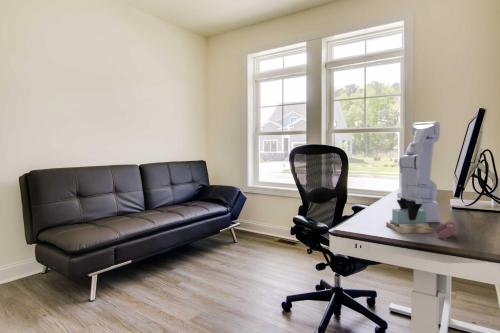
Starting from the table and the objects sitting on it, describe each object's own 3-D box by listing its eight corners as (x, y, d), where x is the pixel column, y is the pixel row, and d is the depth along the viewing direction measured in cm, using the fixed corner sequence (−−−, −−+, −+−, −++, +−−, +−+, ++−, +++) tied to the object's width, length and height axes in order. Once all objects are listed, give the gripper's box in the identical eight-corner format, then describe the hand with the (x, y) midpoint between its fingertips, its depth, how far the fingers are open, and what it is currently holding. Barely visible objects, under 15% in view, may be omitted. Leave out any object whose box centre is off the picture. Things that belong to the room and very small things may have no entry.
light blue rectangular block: (419, 220, 122) (419, 208, 121) (425, 223, 117) (425, 211, 117) (392, 221, 121) (392, 209, 121) (397, 223, 117) (398, 211, 117)
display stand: (416, 225, 125) (416, 218, 125) (433, 232, 114) (433, 224, 114) (386, 225, 125) (386, 218, 125) (399, 233, 114) (399, 225, 114)
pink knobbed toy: (449, 244, 105) (460, 228, 103) (436, 237, 107) (447, 221, 105) (448, 237, 113) (458, 221, 111) (435, 230, 115) (445, 215, 113)
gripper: (390, 182, 126) (390, 214, 126) (409, 187, 111) (408, 223, 112) (407, 182, 126) (406, 214, 126) (428, 187, 111) (427, 222, 112)
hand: (408, 218), depth 119 cm, fingers closed on light blue rectangular block, 4 cm apart
